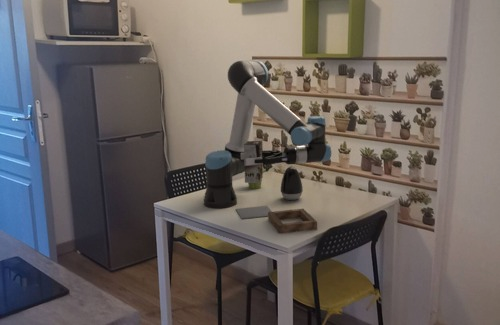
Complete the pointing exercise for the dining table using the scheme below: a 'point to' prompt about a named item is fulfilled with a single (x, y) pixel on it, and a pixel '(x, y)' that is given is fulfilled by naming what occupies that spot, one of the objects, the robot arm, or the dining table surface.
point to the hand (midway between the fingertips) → (243, 158)
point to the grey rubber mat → (253, 212)
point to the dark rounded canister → (291, 184)
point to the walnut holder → (307, 222)
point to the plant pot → (255, 185)
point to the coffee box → (255, 171)
